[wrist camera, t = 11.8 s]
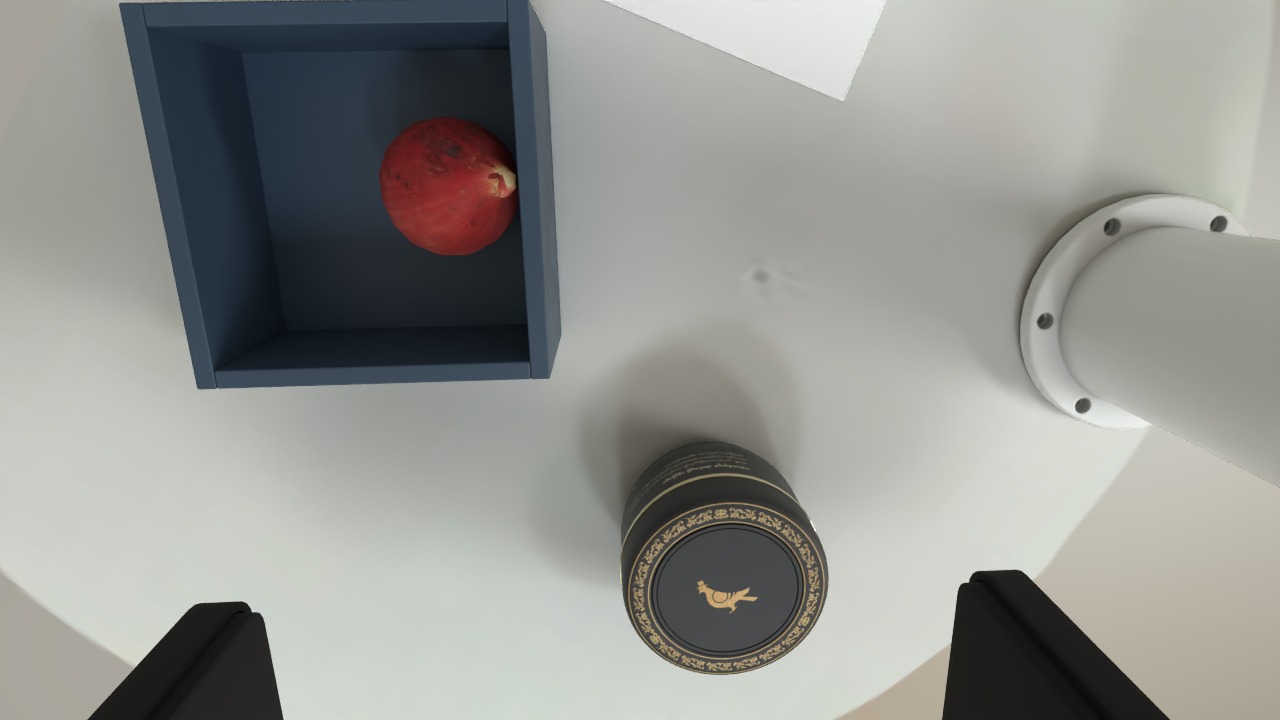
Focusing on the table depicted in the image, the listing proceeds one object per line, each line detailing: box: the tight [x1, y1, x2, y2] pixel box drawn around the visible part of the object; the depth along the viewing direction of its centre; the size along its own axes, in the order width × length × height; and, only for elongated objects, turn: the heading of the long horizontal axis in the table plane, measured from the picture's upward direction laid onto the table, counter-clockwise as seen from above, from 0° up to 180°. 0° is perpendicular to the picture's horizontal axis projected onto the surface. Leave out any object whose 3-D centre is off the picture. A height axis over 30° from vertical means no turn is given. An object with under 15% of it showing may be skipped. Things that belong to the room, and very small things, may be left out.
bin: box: [119, 0, 561, 389], centre depth 31 cm, size 15×15×8 cm
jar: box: [620, 442, 828, 675], centre depth 37 cm, size 10×10×8 cm
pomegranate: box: [379, 116, 519, 255], centre depth 31 cm, size 6×6×8 cm
